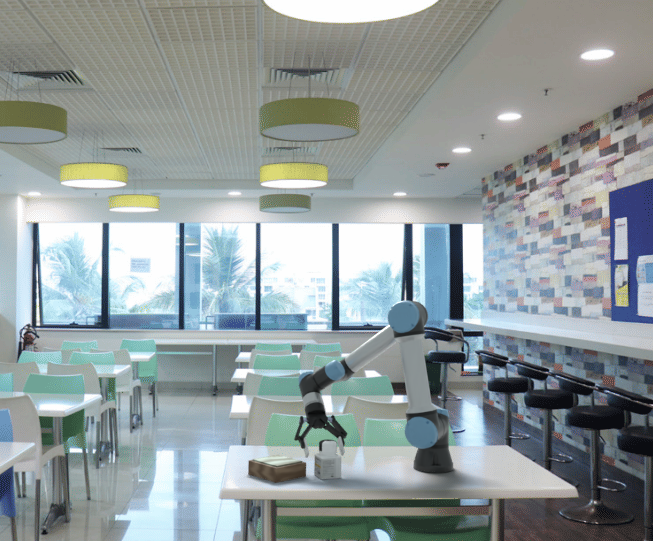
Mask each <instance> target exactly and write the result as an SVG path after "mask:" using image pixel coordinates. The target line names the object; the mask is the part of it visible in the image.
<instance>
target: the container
mask: <svg viewBox="0 0 653 541" xmlns="http://www.w3.org/2000/svg"><path fill="white" fill-rule="evenodd" d="M313 464H314V466H313V468H314V470H313V471H314V472H313V473H314V474H313V475H314V476H316V478H319V479H320V480H322V481H323V480H334V479H341V478H342V456H341V455H339V454H338V442H337V441H336V440H334V439H321V440H320V441H319V442H318V452H317V453H314V462H313Z"/></svg>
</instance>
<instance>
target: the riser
mask: <svg viewBox="0 0 653 541" xmlns="http://www.w3.org/2000/svg"><path fill="white" fill-rule="evenodd" d="M247 469H248V473H247V475H249V476H253V477H256V478H259V479H262V480H266V481H269V482H272V483H276V484H277V483H283V482H285V481H286V482H287V481H290V480H297V479H301V478H306V477H307V462H306V461H303V460H300V459H297V458H292V457H289V456H284V455H280V454H275V455H269V456H263V457H256V458H252V459H250V460H248V468H247Z"/></svg>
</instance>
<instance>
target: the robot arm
mask: <svg viewBox="0 0 653 541" xmlns="http://www.w3.org/2000/svg"><path fill="white" fill-rule="evenodd" d="M387 312H388V313H387V322H388V325H386V326H385V327H384V328H382V329H380V331H378V332H377V333H376V334H375V335H373V336H371V337H370V338H369V339H367V340H366V341H365V342H364V343H362V344H361V345H360V346H358V347H357V348H356V349H355V350H353V351H351V352H350V353H349V354H348V355H346V356H345V357H344V358H342V359H340V361H339V360H336V359H334V360H332V361H330V362H328V363H326V364H325V365H323V366H322V367H320V368H319V369H318V370H316V371H315V372H314V371H312V370H307V371H306V372H305V371H304V372H301V374H299V376H298V379H297V380H298V387H299V389H300V394H301V398H302V404H303V408H304V413H305V416H306V417H304V416H303V415H301V416H300V417H299V419H298V424H299V425H298V427H297V431H296V432H295V435H294V438H293V440H294V441H295V442H296V441H298V443H299V444H300V448H301V449H302V450H303V452H304V457H305V458H309V455H310V450H309V446H308V440H307V438H306V437H307V435H308V434H309V432H310V431H311V430H312V428H313V430H317V429H320V430H321V429H324V430H325V431H328V432H329V433H330V434H331V435H332V436H333V437H336V439H337V441H336V442H337V447H338V450H339V452H340V456H341V457H343V456H344V455H345V452H346V451H345V445H346V443H345V439H346V438H347V435H348V432H347V431H346V429H345V428H344V427H343V426H342V425H341V424H340V423H339V421H338V420H337V419H336V417H335V415H334V414H332V415H331V416H327V414H326V413H327V412H326V410H325V409H326V408H325V406H324V401H323V398H322V393H321V392H322V391H323V390H324V389H326V388H328V387H330V386H331V385H333V384H337V383H341V382H345V381H348V380H350V379H351V378H352V377H353V376H354V374H355V373H357V372H358V371H360V370H362V368H364V367H366V366H367V365H368V364H369V363H371V362H372V361H374V360H375V359H377V357H379V356H380V355H382V354H383V353H385V352H386V351H387V350H389V348H392V347H393V346H394V345H395V344H397V343H398V346H399V352H400V358H401V366H402V371H403V378H404V383H405V384H404V385H405V391H406V396H407V405H408V408H407V409H406V411H405V419H406V424H405V427H404V436H405V439H406V440H407V442H408V444H410V445H411V446H413V447H414V448H416V449H417V450H416V453H415V456H414V459H413V469H414V470H417V471H419V472H425V473H436V474H437V473H449V472H452V471H453V470H454V461H453V458H452V456H451V452H450V448H449V447H450V446H449V445H450V444H449V443H450V439H449V438H450V414H449V410H448V409H447V408H437V407H436V406H435V405H434V404H433V403H432V398H431V390H430V383H429V377H428V372H427V364H426V358H425V353H424V352H425V351H424V346H423V338H424V337H425V336H426V332H425V326H426V325H427V323H428V319H429V312H428V310H427V308H426V306H425V305H424V304H422V303H421V302H419V301H415V300H414V301H413V300H408V299H407V300H401V301H398V302H395V303H394V304H393V305H392V306H391V307H390V309H389V310H388V311H387ZM305 423H307V424H308V425H307V426H306V428H305V429H304V431H303V432H302V434H301V431H302V428H303V425H304V424H305ZM300 434H301V435H300Z"/></svg>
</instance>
